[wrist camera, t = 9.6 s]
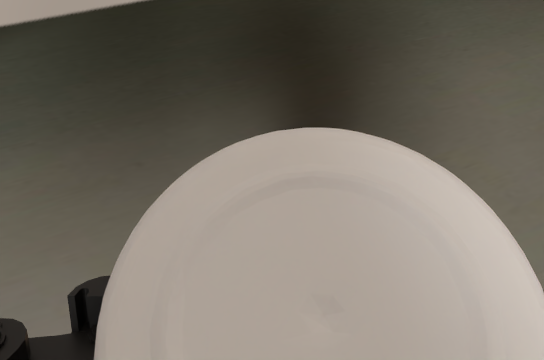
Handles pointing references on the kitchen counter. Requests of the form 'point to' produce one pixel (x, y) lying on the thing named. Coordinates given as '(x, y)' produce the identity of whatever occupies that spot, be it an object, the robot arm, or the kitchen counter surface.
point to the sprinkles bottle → (320, 261)
